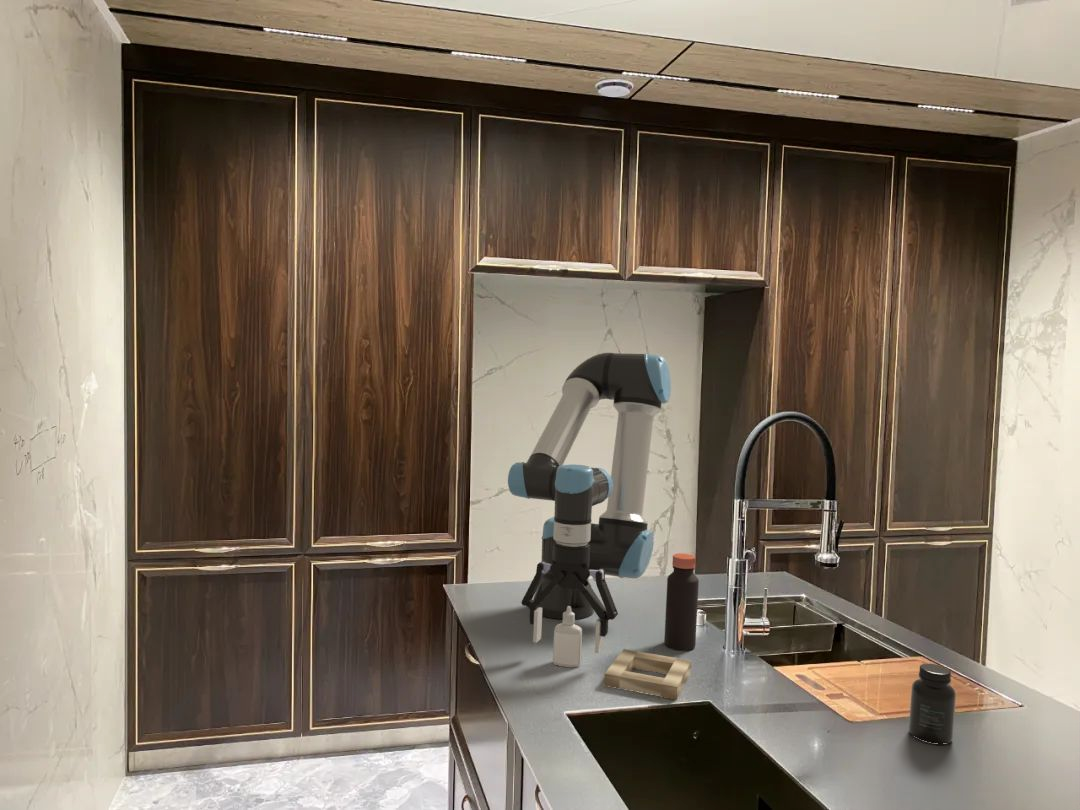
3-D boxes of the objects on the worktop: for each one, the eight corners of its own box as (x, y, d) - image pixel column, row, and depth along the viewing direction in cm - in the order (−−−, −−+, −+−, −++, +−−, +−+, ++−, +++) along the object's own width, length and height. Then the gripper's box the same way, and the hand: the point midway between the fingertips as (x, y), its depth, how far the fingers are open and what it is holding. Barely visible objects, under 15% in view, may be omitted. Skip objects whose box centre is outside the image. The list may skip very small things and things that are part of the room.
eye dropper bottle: (570, 671, 162) (573, 612, 161) (549, 663, 165) (551, 605, 165) (584, 665, 165) (586, 607, 164) (562, 657, 169) (565, 601, 168)
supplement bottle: (914, 723, 144) (919, 657, 143) (956, 736, 140) (961, 668, 139) (903, 736, 139) (908, 668, 138) (946, 750, 135) (952, 680, 134)
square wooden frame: (623, 660, 168) (623, 648, 168) (690, 672, 163) (691, 660, 163) (604, 686, 155) (604, 673, 155) (676, 700, 150) (677, 687, 150)
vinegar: (693, 641, 181) (698, 553, 180) (696, 652, 174) (701, 561, 173) (663, 638, 182) (667, 551, 180) (664, 650, 175) (669, 559, 174)
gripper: (508, 538, 164) (504, 641, 166) (626, 553, 156) (621, 662, 157) (522, 531, 171) (518, 630, 173) (635, 545, 163) (630, 649, 164)
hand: (567, 645), depth 165 cm, fingers open, 12 cm apart
